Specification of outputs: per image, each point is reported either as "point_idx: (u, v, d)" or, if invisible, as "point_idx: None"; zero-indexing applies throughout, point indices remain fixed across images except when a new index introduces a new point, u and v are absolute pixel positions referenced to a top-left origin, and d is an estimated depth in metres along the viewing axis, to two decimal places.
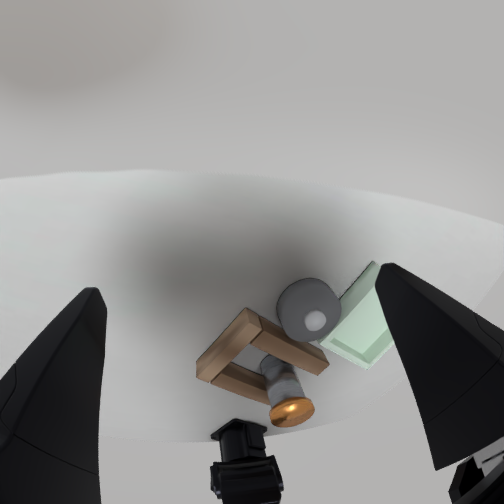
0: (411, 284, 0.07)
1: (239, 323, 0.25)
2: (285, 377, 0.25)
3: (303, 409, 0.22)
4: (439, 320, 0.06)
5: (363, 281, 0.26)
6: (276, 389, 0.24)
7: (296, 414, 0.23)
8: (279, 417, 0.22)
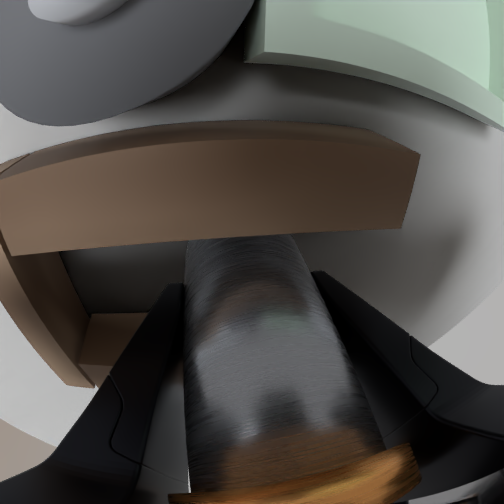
0: (333, 297, 0.06)
1: None
2: (207, 324, 0.05)
3: None
4: (359, 344, 0.05)
5: None
6: (184, 401, 0.05)
7: None
8: None
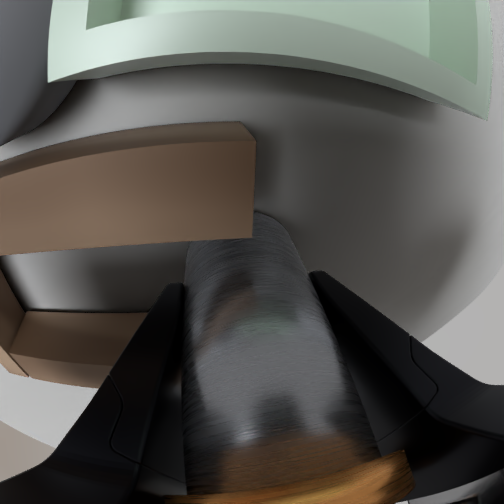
0: (333, 297, 0.06)
1: None
2: (209, 326, 0.05)
3: None
4: (359, 344, 0.05)
5: None
6: (182, 403, 0.04)
7: None
8: None
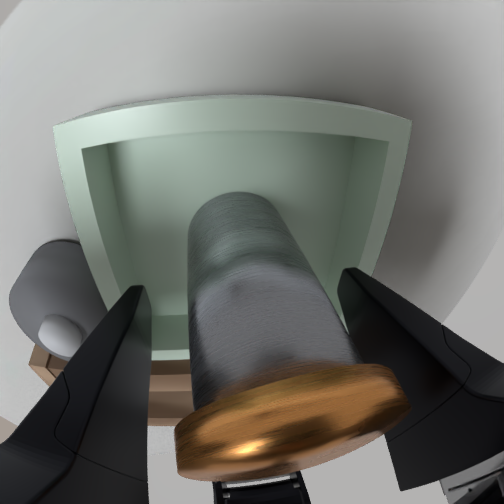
0: (370, 291, 0.07)
1: None
2: (213, 275, 0.06)
3: (329, 440, 0.03)
4: (398, 333, 0.05)
5: None
6: (189, 346, 0.05)
7: (315, 453, 0.04)
8: (235, 476, 0.04)
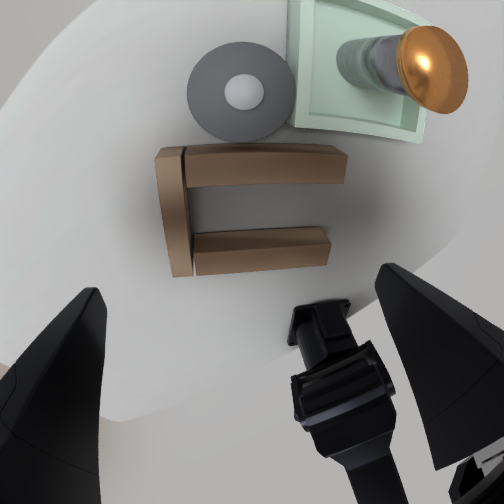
0: (411, 284, 0.07)
1: None
2: (379, 36, 0.09)
3: (445, 47, 0.07)
4: (439, 320, 0.06)
5: (291, 12, 0.11)
6: (380, 48, 0.09)
7: (445, 66, 0.07)
8: (423, 74, 0.08)
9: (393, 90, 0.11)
